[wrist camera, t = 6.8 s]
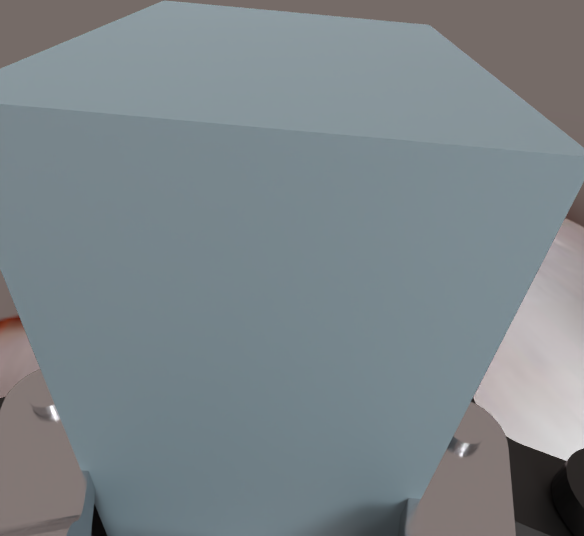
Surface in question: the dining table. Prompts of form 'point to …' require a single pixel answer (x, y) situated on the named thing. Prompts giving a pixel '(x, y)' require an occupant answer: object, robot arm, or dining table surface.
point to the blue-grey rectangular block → (268, 258)
